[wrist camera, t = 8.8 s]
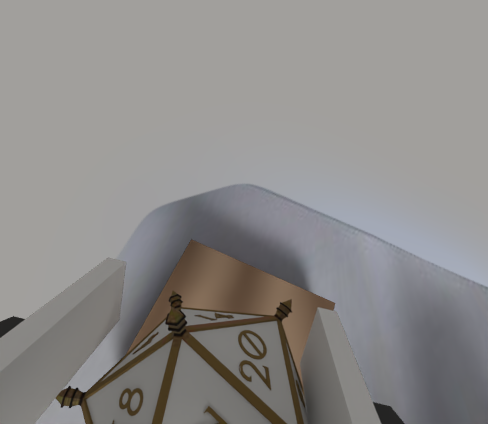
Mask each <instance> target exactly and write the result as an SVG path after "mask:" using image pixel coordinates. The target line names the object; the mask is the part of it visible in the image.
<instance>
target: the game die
mask: <svg viewBox="0 0 488 424" xmlns="http://www.w3.org/2000/svg"><path fill="white" fill-rule="evenodd" d="M181 298H182V296H180V295H179V294H177V293H176V292H174V291H172V294H171V297H170V298H169V302H170V303H171V305H170V306H171V310H170V313H168V314H167V317H166V318H165V319H164V320H162V321H161V322H160V323H159V324H158V325H157V326H156V327H155V328H154V329H153V330H152V331H151V332H150V333H149V334H148V335H147V336H145V337H144V338H143V339H142V340H141V341H140V342H139V343H138V344H137V345H136V346H135V347H134V348H133V349H132V350H131V351H129V352H128V353H127V354H126V355H125V356H124V357H123V358H122V359H121V360H120V361H119V362H118V363H117V364H116V365H115V366H114V367H112V368H111V369H110V370H109V371H108V372H107V373H106V374H105V375H104V376H103V377H102V378H101V379H100V380H99V381H98V382H96V383H95V384H94V385H93V386H92V387H91V388H90V389H89V390H88V391H87V392H84V393H83V392H81V391H79V389H78V388H76V389H72V388H71V386H69V387H68V388H67V389H64V390H62V391H61V392H60V393H59V394H58V395H57V397H56V399H57V400H58V401H59V403H60V404H61V407H63V406H69V408H71V407H72V406H75V405H80V406H81V407H82V411H83V415H84V419H85V423H86V424H309V422H308V417H307V410H306V403H305V396H304V389H303V386H302V383H301V380H300V377H299V374H298V371H297V368H296V365H295V362H294V359H293V356H292V352H291V349H290V346H289V343H288V340H287V337H286V334H285V331H284V328H283V325H282V320H283V319H284V318H286V317H287V318H288V317H289V316H288V314H289V313H290V312H291V313H292V311H291V306H292V299H290V300H287V301H285V302H282V303H281V302H280V306H279V307H277V308H276V309H277V311H276V314H275V315H274V316H273V315H262V314H251V313H240V312H230V311H219V310H208V309H197V308H187V307H181V306H182V303H183V301H182V300H181Z"/></svg>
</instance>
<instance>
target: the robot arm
mask: <svg viewBox="0 0 488 424" xmlns="http://www.w3.org/2000/svg"><path fill="white" fill-rule="evenodd" d="M125 268H126V262H124V261H120V260H116V259H111V258H107V259H106V260H104V261H103V262H102V263H101V264H99V265H97V266H96V267H95V268H94V269H92V270H91V271H89V272H88V273H87V274H85V275H84V276H83V277H81V278H80V279H79V280H77V281H76V282H75V283H73V284H72V285H71V286H70V287H68V288H67V289H65V290H64V291H63V292H61V293H60V294H59V295H58V296H56V297H55V298H53V299H52V300H51V301H49V302H48V303H47V304H45V305H44V306H43V307H41V308H40V309H39V310H37V311H36V312H35V313H33V314H32V315H30V316H29V317H28V318H26V319H22V318H18V317H14V316H13V317H11V318H8V319H6V320H3V321H1V322H0V424H34V423H35V422H36V421H37V420H38V419H39V417H40V416H41V415H42V414H43V412H44V411H45V410H46V409H47V408H48V406H49V405H50V404H51V403H52V401H53V400H54V399H55V398H56V397H57V395H58V394H59V393H60V392H61V390H62V389H63V388H64V387H65V386H66V384H67V383H68V382H69V381H70V379H71V378H72V377H73V376H74V375H75V373H76V372H77V371H78V370H79V368H80V367H81V366H82V365H83V364H84V362H85V361H86V360H87V359H88V357H89V356H90V355H91V354H92V353H93V351H94V350H95V349H96V348H97V346H98V345H99V344H100V343H101V342H102V340H103V339H104V338H105V337H106V335H107V334H108V333H109V332H110V331H111V329H112V328H113V327H114V326H115V324H116V323H117V322H118V321H119V318H120V309H121V301H122V293H123V284H124V276H125ZM300 368H301V375H302V382H303V389H304V396H305V403H306V410H307V417H308V422H309V424H404V423H403V421H402V420H401V419H400V418H399V416H398V415H397V414H396V413H395V412H394V410H393V409H392V408H391V407H390V406H386V405H382V404H378V403H374V402H372V399H371V397H370V394H369V392H368V389H367V387H366V384H365V382H364V379H363V377H362V374H361V372H360V369H359V367H358V364H357V361H356V359H355V356H354V354H353V351H352V349H351V346H350V344H349V341H348V339H347V336H346V334H345V331H344V329H343V326H342V324H341V321H340V319H339V316H338V314H337V312H336V311H332V310H328V309H324V308H319V307H318V308H317V311H316V314H315V317H314V321H313V324H312V327H311V330H310V333H309V336H308V339H307V343H306V346H305V349H304V352H303V355H302V358H301V361H300Z"/></svg>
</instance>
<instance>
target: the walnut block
mask: <svg viewBox="0 0 488 424" xmlns="http://www.w3.org/2000/svg"><path fill="white" fill-rule="evenodd" d="M172 291H174V292H176V293H177V294H179V295H180V296H182V298H181V300H182V301H183V303H182V306H181V307H187V308H197V309H208V310H219V311H230V312H240V313H251V314H262V315H273V316H274V315H275V314H276V311H277V309H276V308H277V307H279V306H280V302H281V303H282V302H285V301H287V300H290V299H292V306H291V311H292V313H291V312H290V313H289V314H288V316H289V317H288V318H287V317H286V318H284V319H283V320H282V325H283V328H284V331H285V334H286V337H287V340H288V343H289V346H290V349H291V352H292V356H293V359H294V362H295V365H296V368H297V371H298V374H299V377H300V380H301V383H302V386H303V382H302V375H301V368H300V361H301V358H302V355H303V352H304V349H305V346H306V343H307V339H308V336H309V333H310V330H311V327H312V324H313V321H314V317H315V314H316V311H317V308H318V307H319V308H324V309H328V310H332V311H333V310H334V306H335V303H334V302H331V301H329V300H327V299H325V298H322V297H320V296H318V295H316V294H313V293H311V292H309V291H307V290H304V289H302V288H300V287H298V286H295V285H293V284H291V283H289V282H286V281H284V280H282V279H280V278H277V277H275V276H273V275H271V274H268V273H266V272H264V271H262V270H259V269H257V268H255V267H253V266H250V265H248V264H246V263H243V262H241V261H239V260H237V259H234V258H232V257H230V256H228V255H225V254H223V253H221V252H219V251H216V250H214V249H212V248H210V247H207V246H205V245H203V244H201V243H198V242H196V241H194V240H192V239H191V241H190V242H189V244H188V246H187V248H186V250H185V251H184V253H183V255H182V257H181V258H180V260H179V262H178V264H177V265H176V267H175V269H174V271H173V272H172V274H171V276H170V278H169V280H168V281H167V283H166V285H165V287H164V288H163V290H162V292H161V294H160V295H159V297H158V299H157V301H156V302H155V304H154V306H153V308H152V310H151V311H150V313H149V315H148V317H147V318H146V320H145V322H144V324H143V325H142V327H141V329H140V331H139V333H138V334H137V336H136V338H135V340H134V341H133V343H132V345H131V347H130V348H129V350H128V352H129V351H131V350H132V349H133V348H134V347H135V346H136V345H137V344H138V343H139V342H140V341H141V340H142V339H143V338H144V337H145V336H147V335H148V334H149V333H150V332H151V331H152V330H153V329H154V328H155V327H156V326H157V325H158V324H159V323H160V322H161V321H162V320H164V319H165V318H166V317H167V314H168V313H170V310H171V306H170V305H171V303H170V302H169V298H170V297H171V294H172ZM128 352H127V353H128Z"/></svg>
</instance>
